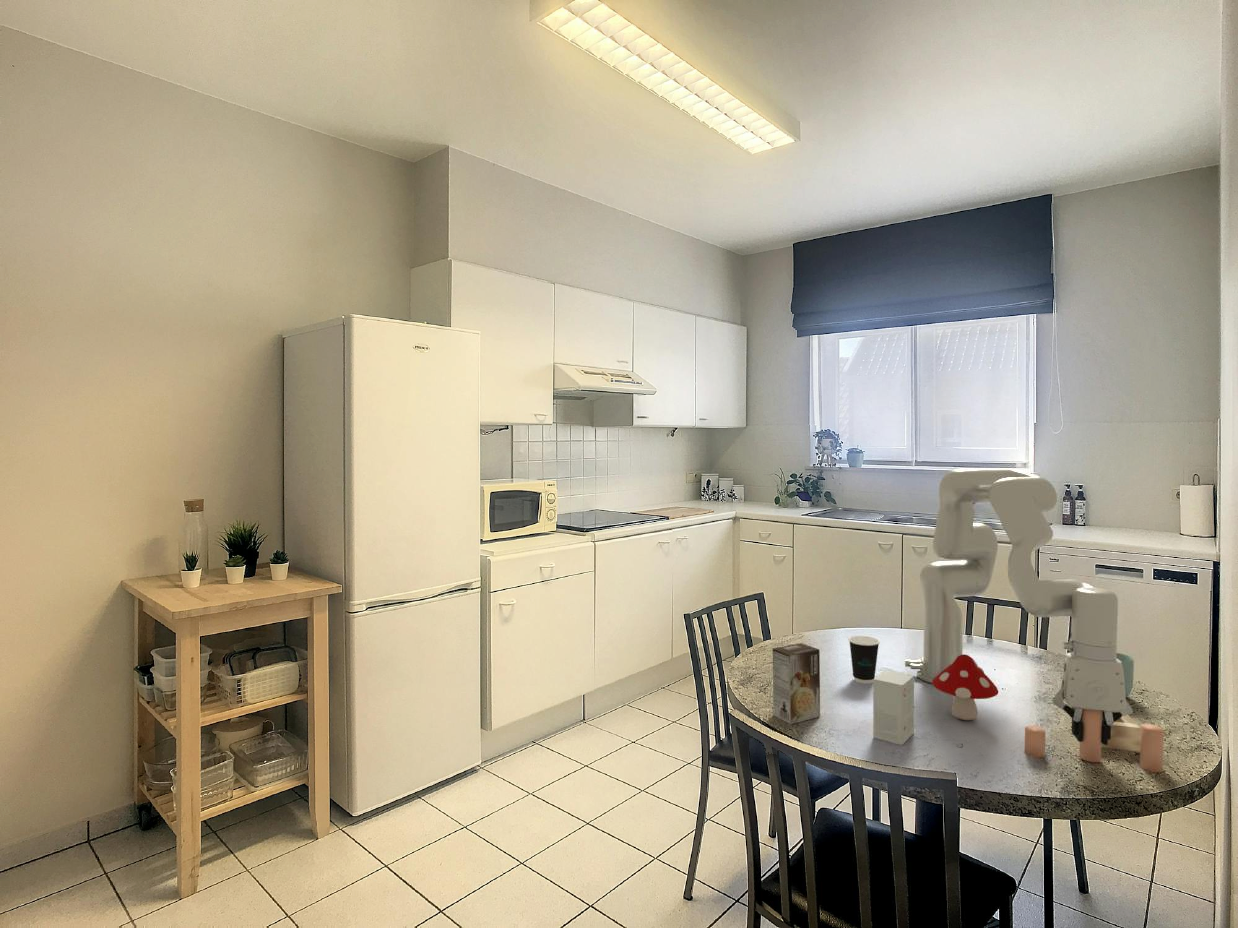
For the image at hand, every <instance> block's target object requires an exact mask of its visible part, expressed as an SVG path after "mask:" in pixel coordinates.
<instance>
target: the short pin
mask: <svg viewBox="0 0 1238 928" xmlns="http://www.w3.org/2000/svg"><path fill="white" fill-rule="evenodd" d="M1024 753H1025V754H1026V755H1028V756H1030V757H1033V758H1041V759H1042V758H1045V757H1046V730H1045V729H1044V728H1042V727H1040V726H1036V725H1035V726H1034V725H1027V726H1024Z"/></svg>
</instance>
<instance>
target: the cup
mask: <svg viewBox="0 0 1238 928" xmlns="http://www.w3.org/2000/svg"><path fill="white" fill-rule="evenodd" d="M1116 658H1117V659H1119V660H1120V661H1121V663H1122V667H1123V673H1124V682H1125V696H1126V698H1127V697H1129V696H1130V695H1131V693H1132V691H1133V686H1134V681H1135V679H1134V678H1135V675H1134V674H1135V661H1134V658H1133V657H1132V656H1130V655H1127V654H1124V653H1120V652H1116Z"/></svg>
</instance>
